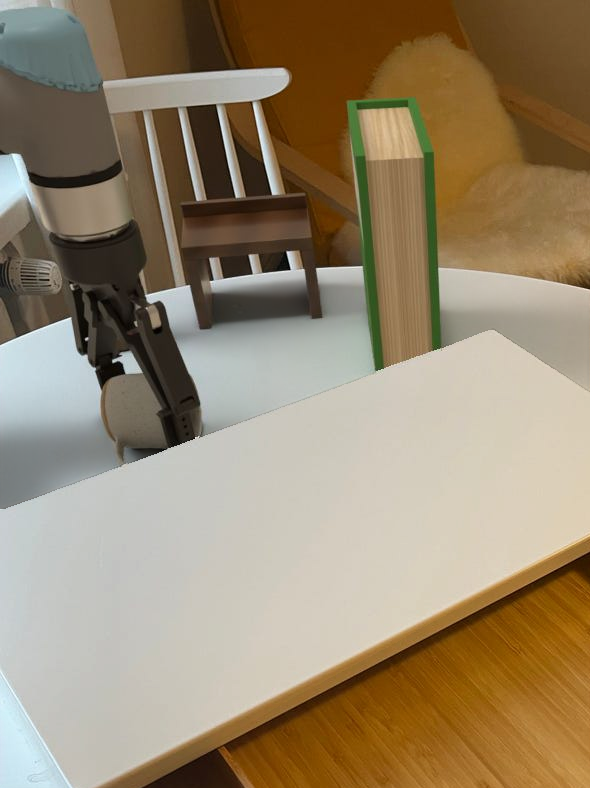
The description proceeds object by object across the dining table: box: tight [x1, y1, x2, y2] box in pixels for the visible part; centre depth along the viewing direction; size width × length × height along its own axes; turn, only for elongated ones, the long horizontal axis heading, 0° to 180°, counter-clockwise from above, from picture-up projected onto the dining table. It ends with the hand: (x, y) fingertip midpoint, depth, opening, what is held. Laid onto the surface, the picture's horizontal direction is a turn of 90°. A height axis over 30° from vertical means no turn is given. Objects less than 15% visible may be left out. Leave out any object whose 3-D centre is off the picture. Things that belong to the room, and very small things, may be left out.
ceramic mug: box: [99, 372, 203, 466], centre depth 93 cm, size 11×8×8 cm
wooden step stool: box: [180, 192, 323, 330], centre depth 115 cm, size 15×10×12 cm, turn 101°
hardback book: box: [346, 96, 442, 372], centre depth 103 cm, size 18×7×24 cm, turn 8°
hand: (156, 443), depth 97 cm, fingers closed on ceramic mug, 10 cm apart
